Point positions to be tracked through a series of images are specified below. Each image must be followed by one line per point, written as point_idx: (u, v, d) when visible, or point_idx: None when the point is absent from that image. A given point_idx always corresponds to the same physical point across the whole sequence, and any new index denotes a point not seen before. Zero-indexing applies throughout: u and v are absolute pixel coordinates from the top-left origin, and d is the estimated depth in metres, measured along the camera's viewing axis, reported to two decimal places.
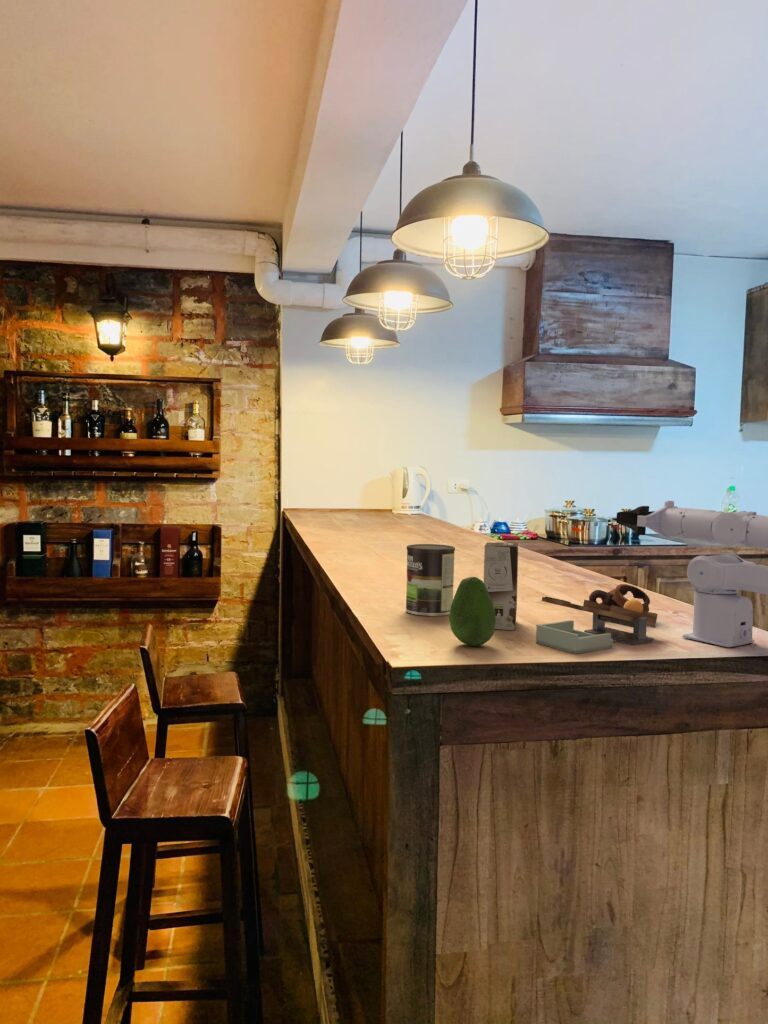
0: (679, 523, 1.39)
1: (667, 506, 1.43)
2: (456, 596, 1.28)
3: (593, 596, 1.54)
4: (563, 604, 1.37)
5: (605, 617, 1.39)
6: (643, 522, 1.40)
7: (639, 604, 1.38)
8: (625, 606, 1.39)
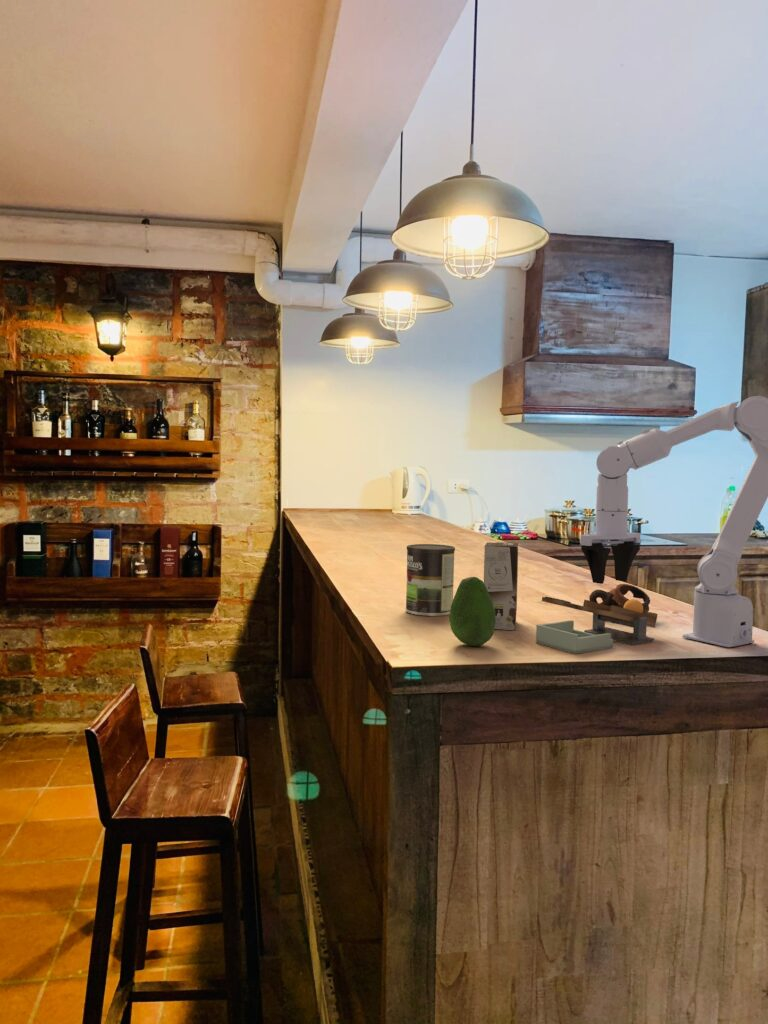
0: (601, 512, 1.41)
1: None
2: (456, 596, 1.28)
3: (593, 596, 1.55)
4: (563, 604, 1.37)
5: (605, 617, 1.39)
6: (585, 537, 1.38)
7: (639, 604, 1.38)
8: (625, 606, 1.39)
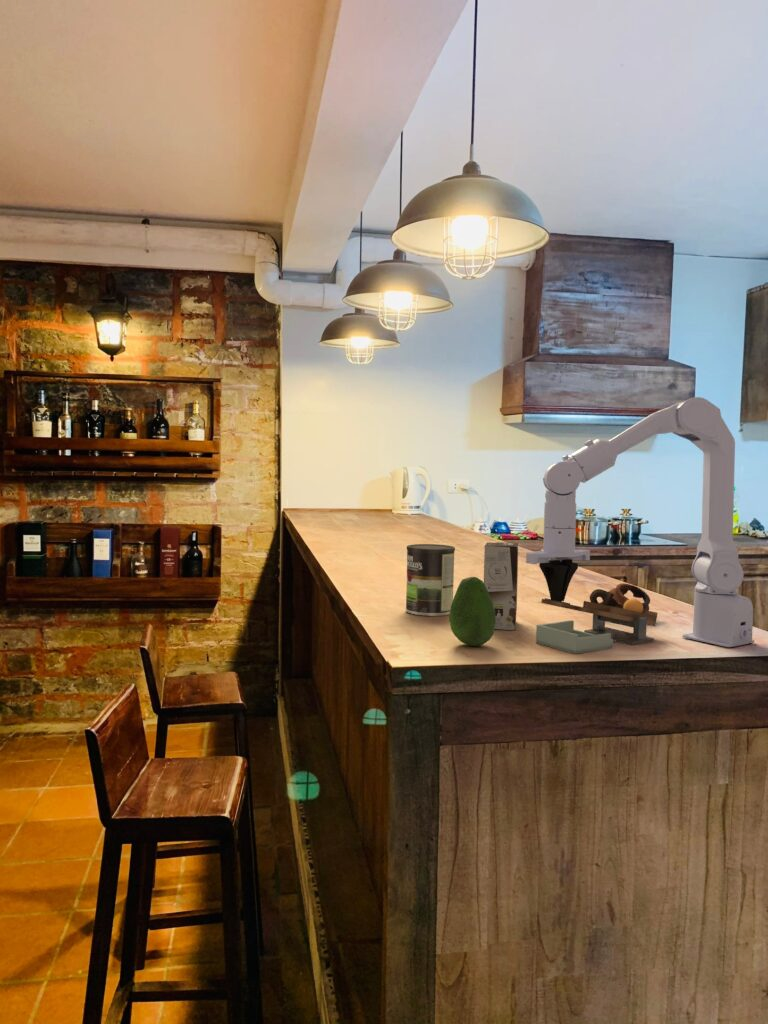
0: (548, 529, 1.37)
1: None
2: (456, 596, 1.28)
3: (594, 595, 1.55)
4: (563, 606, 1.37)
5: (605, 617, 1.39)
6: (530, 555, 1.35)
7: (639, 603, 1.38)
8: (625, 606, 1.39)
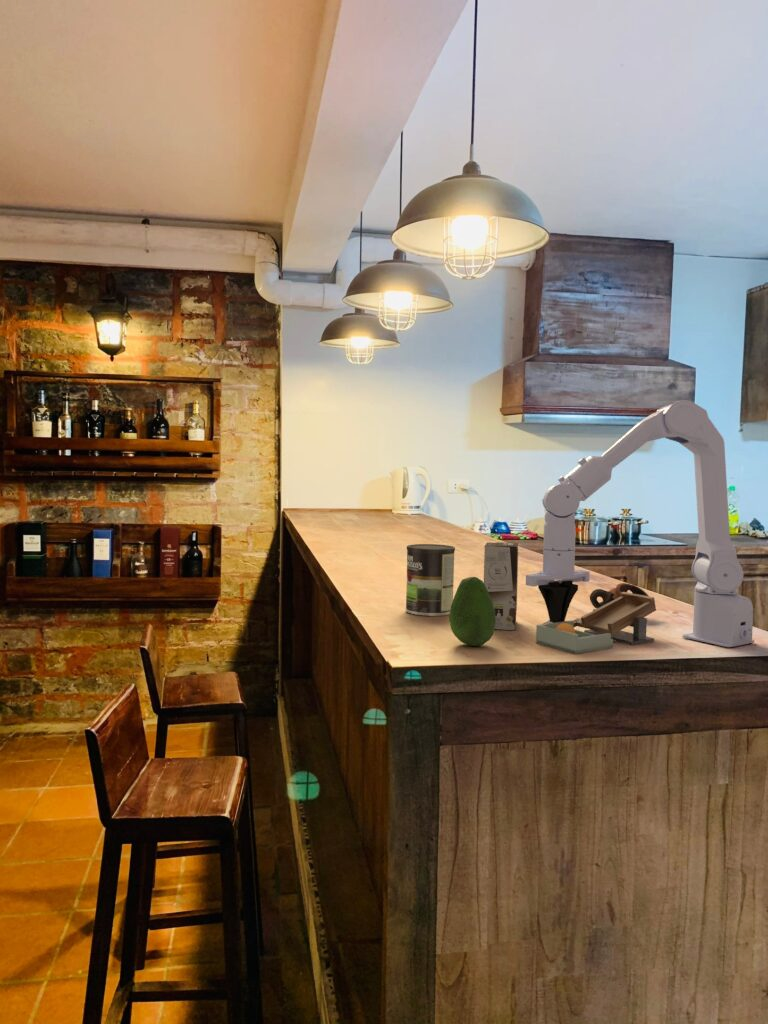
0: (547, 551, 1.37)
1: (543, 571, 1.41)
2: (456, 596, 1.28)
3: (594, 595, 1.56)
4: None
5: None
6: (530, 578, 1.35)
7: None
8: None
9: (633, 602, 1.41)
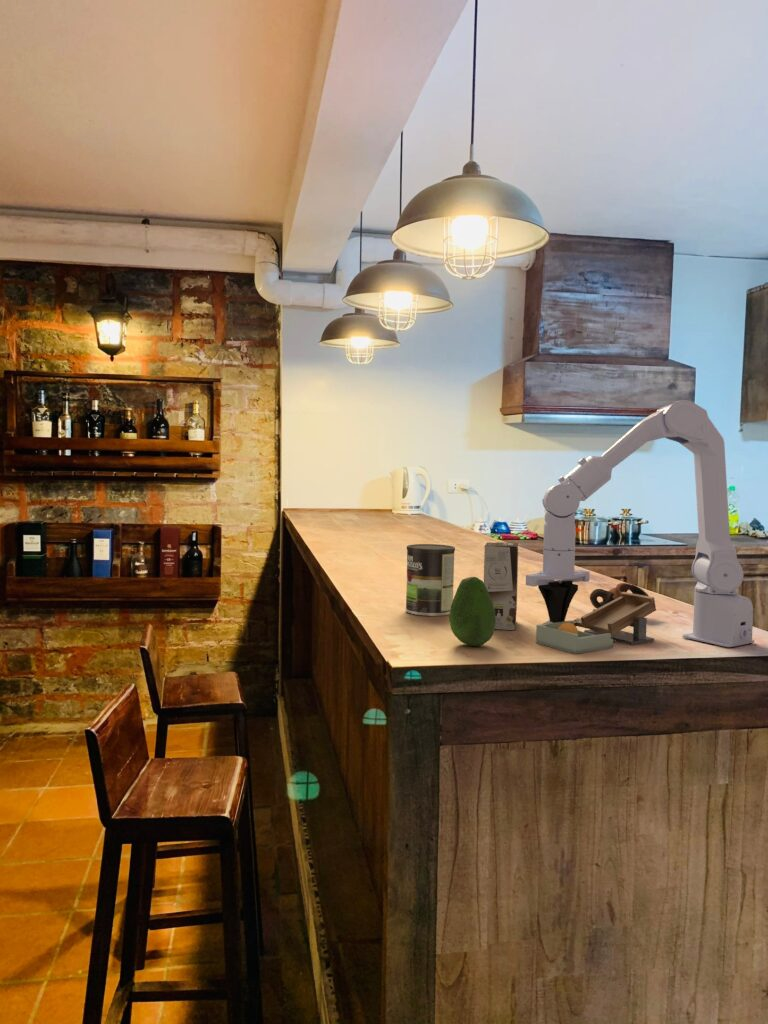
0: (547, 551, 1.37)
1: (543, 571, 1.41)
2: (456, 596, 1.28)
3: (594, 595, 1.56)
4: None
5: None
6: (530, 578, 1.35)
7: None
8: None
9: (633, 602, 1.41)
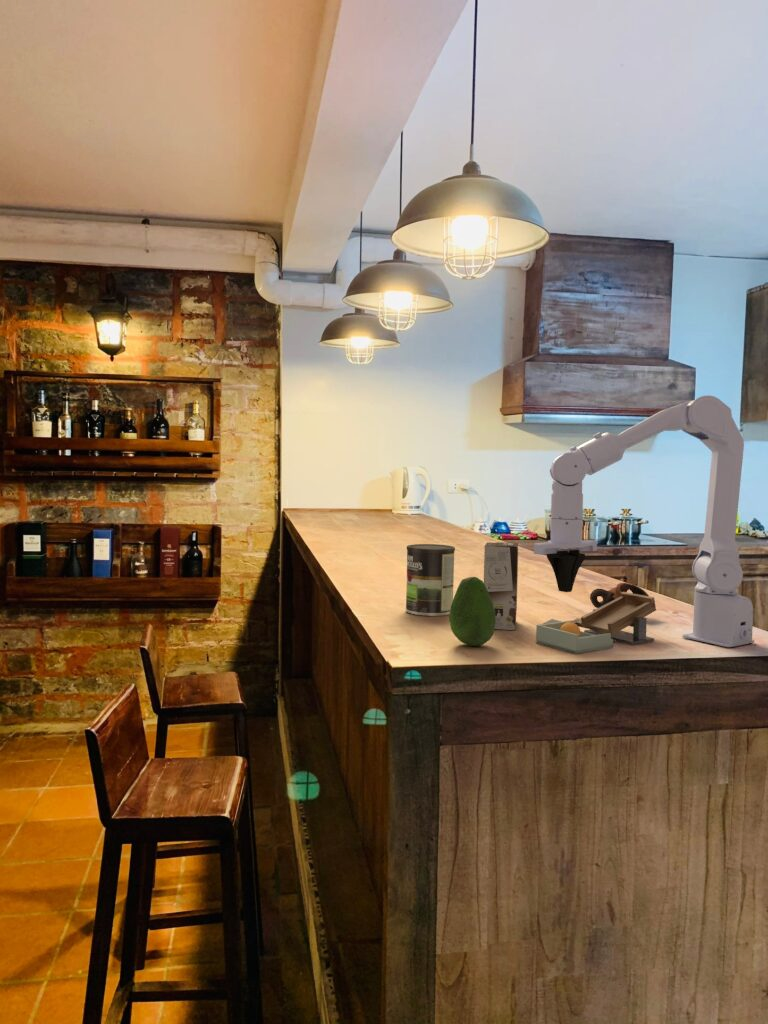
0: (555, 520, 1.38)
1: None
2: (456, 596, 1.28)
3: (594, 594, 1.56)
4: None
5: None
6: (538, 546, 1.35)
7: (579, 636, 1.30)
8: None
9: (633, 602, 1.41)
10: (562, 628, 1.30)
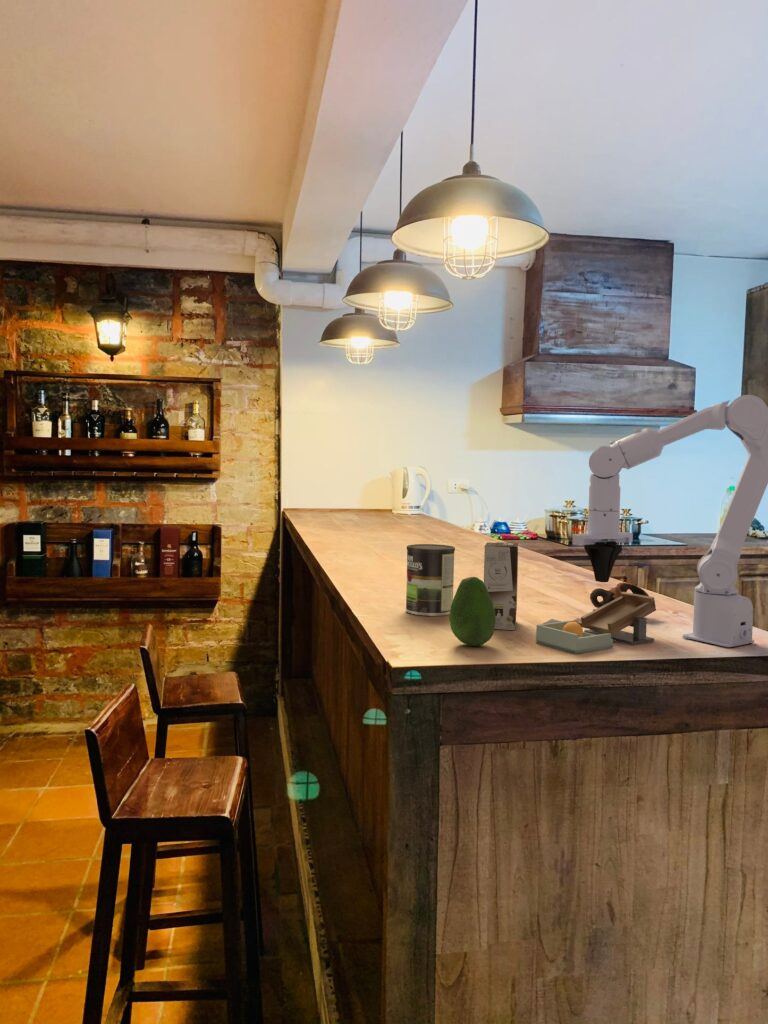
0: (593, 512, 1.41)
1: (588, 532, 1.45)
2: (456, 596, 1.28)
3: (594, 594, 1.57)
4: None
5: None
6: (577, 537, 1.39)
7: None
8: None
9: (633, 602, 1.41)
10: (566, 625, 1.31)
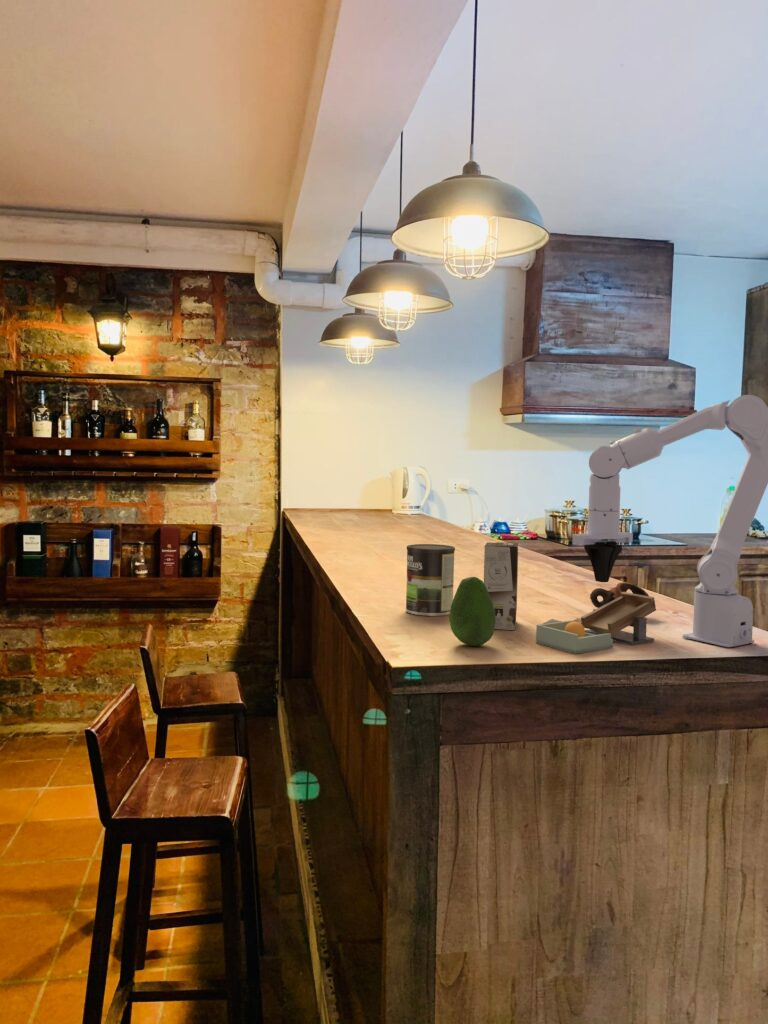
0: (593, 512, 1.41)
1: (588, 532, 1.45)
2: (456, 596, 1.28)
3: (594, 594, 1.57)
4: None
5: None
6: (577, 537, 1.39)
7: None
8: None
9: (633, 602, 1.41)
10: (570, 622, 1.31)
